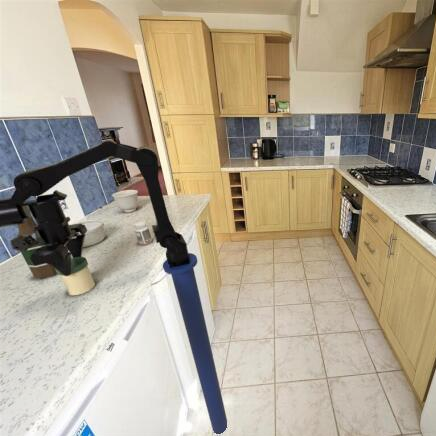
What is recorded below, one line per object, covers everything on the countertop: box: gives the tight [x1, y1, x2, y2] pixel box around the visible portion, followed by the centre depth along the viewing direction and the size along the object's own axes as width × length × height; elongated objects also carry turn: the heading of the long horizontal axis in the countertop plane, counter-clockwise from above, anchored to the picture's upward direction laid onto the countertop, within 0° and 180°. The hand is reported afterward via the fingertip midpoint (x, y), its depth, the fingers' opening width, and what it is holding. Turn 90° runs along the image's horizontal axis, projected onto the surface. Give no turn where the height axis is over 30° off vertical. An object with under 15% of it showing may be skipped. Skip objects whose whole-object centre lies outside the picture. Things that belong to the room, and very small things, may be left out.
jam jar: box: [59, 265, 96, 296], centre depth 71 cm, size 6×6×8 cm
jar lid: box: [55, 256, 89, 276], centre depth 69 cm, size 7×7×2 cm
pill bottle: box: [133, 221, 153, 246], centre depth 97 cm, size 5×5×8 cm
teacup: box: [111, 189, 139, 213], centre depth 132 cm, size 12×15×10 cm
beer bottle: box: [16, 215, 58, 279], centre depth 76 cm, size 8×8×24 cm
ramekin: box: [71, 219, 106, 248], centre depth 99 cm, size 13×13×7 cm
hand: (73, 267), depth 70 cm, fingers open, 8 cm apart
